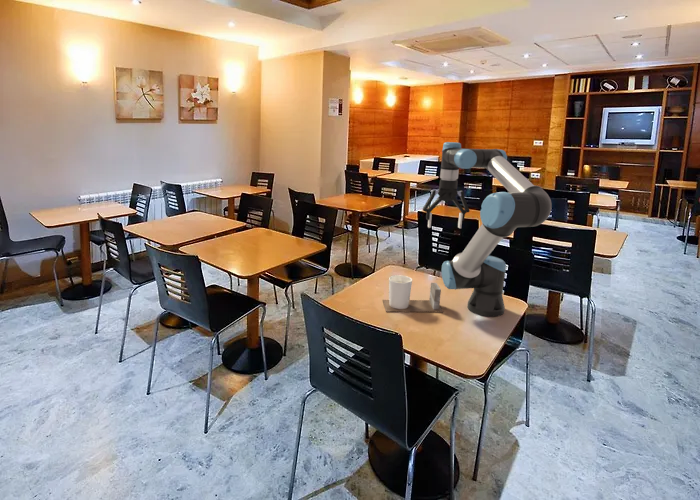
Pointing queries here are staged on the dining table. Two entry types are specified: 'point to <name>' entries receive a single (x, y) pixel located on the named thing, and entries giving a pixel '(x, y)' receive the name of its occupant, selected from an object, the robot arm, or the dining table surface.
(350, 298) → the dining table surface
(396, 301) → the candle holder
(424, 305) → the board
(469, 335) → the dining table surface
